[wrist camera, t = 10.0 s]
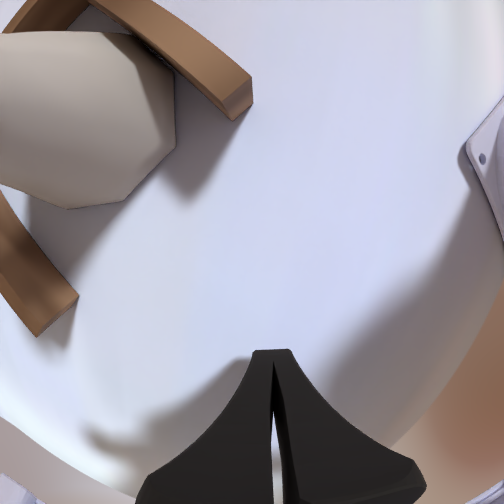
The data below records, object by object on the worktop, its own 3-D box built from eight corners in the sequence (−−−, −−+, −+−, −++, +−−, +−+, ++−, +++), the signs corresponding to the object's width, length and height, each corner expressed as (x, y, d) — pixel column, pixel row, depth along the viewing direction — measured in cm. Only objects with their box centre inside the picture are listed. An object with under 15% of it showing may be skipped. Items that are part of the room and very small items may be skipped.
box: (253, 103, 9) (251, 76, 6) (71, 307, 11) (36, 337, 8) (97, -16, 7) (68, -42, 4) (-27, 164, 9) (-62, 170, 6)
